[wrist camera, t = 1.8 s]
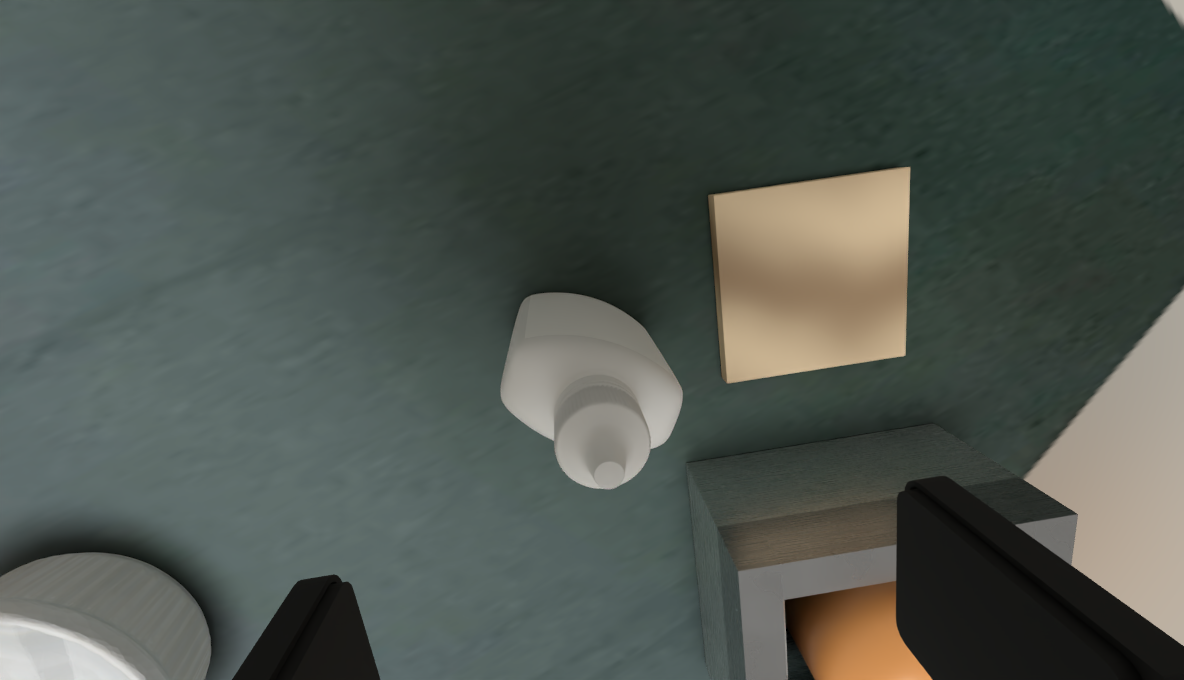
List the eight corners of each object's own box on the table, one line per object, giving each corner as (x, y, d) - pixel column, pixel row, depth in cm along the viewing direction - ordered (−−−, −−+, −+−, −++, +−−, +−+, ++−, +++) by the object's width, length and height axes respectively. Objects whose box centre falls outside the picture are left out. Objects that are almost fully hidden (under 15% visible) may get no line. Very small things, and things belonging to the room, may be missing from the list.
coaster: (708, 195, 23) (713, 195, 22) (898, 167, 23) (910, 166, 22) (721, 377, 25) (727, 383, 24) (894, 350, 25) (905, 355, 24)
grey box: (685, 463, 26) (738, 571, 19) (937, 422, 26) (1083, 513, 19) (705, 664, 29) (756, 820, 22) (928, 625, 30) (1049, 766, 23)
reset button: (780, 554, 24) (847, 662, 18) (917, 531, 24) (1022, 632, 18) (785, 665, 25) (848, 793, 20) (913, 643, 25) (1008, 763, 20)
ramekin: (287, 634, 27) (227, 738, 22) (133, 756, 28) (42, 880, 23) (89, 481, 24) (-33, 560, 19) (-72, 625, 26) (-226, 734, 20)
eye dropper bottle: (571, 251, 23) (593, 321, 11) (660, 343, 24) (760, 490, 13) (497, 323, 23) (447, 459, 12) (588, 409, 25) (622, 605, 13)
